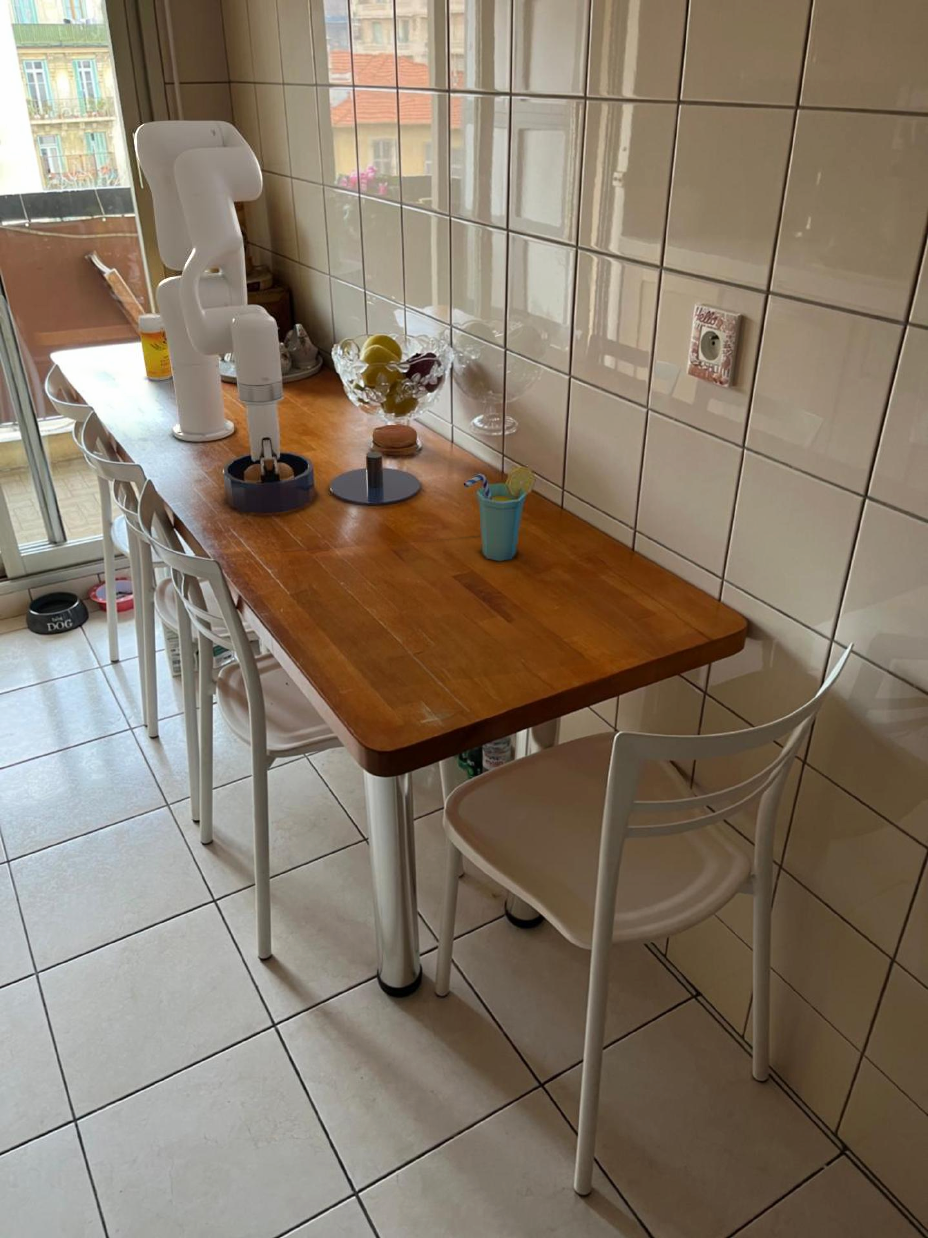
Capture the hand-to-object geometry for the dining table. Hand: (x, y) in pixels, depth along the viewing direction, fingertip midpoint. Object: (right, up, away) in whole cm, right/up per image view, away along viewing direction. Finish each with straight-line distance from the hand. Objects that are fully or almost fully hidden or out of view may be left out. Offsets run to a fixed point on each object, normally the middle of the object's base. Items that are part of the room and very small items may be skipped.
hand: (270, 486), depth 165 cm
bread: (0, -1, +2) cm, 2 cm away
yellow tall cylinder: (-41, +36, +65) cm, 85 cm away
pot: (0, -2, +2) cm, 3 cm away
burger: (+20, +11, +24) cm, 33 cm away
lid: (+18, +1, +5) cm, 19 cm away
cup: (+40, -14, -16) cm, 45 cm away
